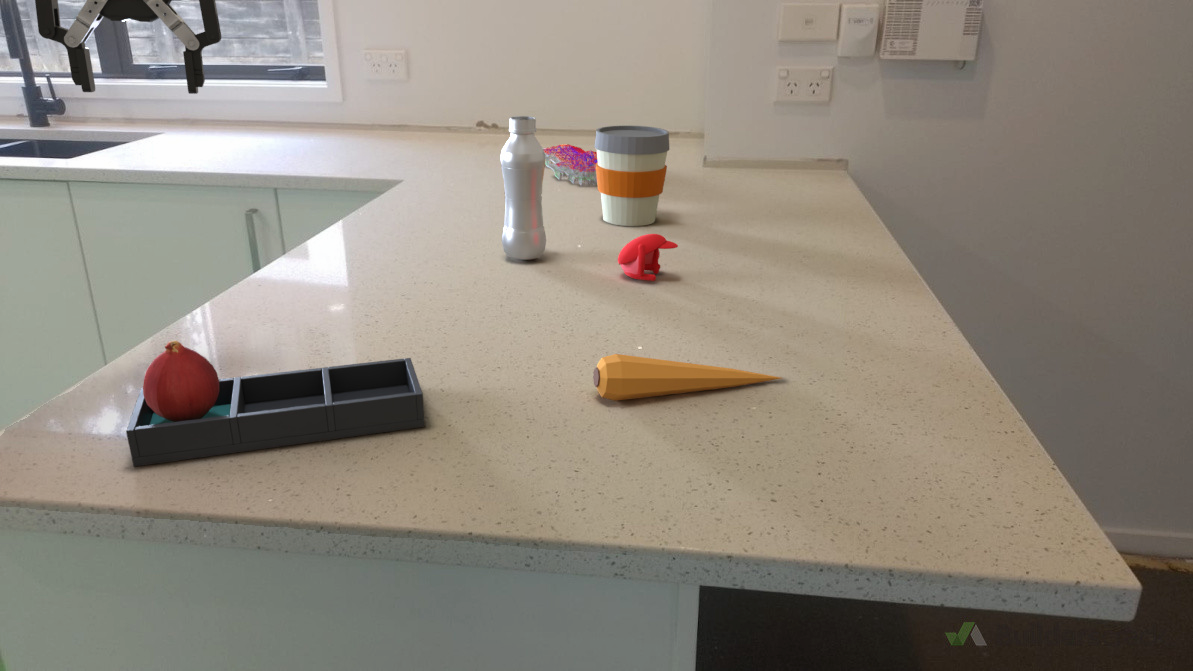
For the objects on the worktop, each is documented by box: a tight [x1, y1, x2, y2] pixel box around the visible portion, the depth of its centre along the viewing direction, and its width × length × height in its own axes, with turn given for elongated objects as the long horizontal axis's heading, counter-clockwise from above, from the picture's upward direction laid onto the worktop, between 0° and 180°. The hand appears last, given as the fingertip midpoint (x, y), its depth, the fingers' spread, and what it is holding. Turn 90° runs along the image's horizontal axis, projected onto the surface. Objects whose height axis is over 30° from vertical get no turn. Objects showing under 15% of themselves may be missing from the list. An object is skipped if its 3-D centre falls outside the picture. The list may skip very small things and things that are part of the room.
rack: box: [125, 357, 426, 467], centre depth 74 cm, size 23×8×3 cm, turn 109°
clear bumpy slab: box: [542, 143, 598, 187], centre depth 180 cm, size 30×15×5 cm, turn 15°
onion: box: [142, 339, 220, 422], centre depth 71 cm, size 6×6×8 cm
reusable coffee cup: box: [594, 125, 670, 227], centre depth 142 cm, size 13×13×15 cm
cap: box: [617, 233, 679, 282], centre depth 115 cm, size 8×6×6 cm
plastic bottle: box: [499, 115, 547, 261], centre depth 119 cm, size 6×7×20 cm
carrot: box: [592, 353, 782, 402], centre depth 83 cm, size 20×4×4 cm, turn 104°
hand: (142, 92), depth 77 cm, fingers open, 8 cm apart
